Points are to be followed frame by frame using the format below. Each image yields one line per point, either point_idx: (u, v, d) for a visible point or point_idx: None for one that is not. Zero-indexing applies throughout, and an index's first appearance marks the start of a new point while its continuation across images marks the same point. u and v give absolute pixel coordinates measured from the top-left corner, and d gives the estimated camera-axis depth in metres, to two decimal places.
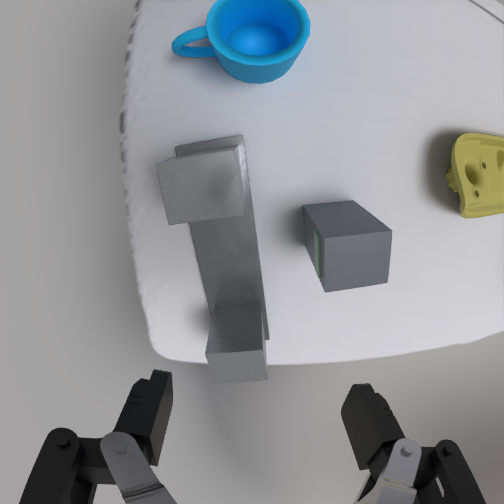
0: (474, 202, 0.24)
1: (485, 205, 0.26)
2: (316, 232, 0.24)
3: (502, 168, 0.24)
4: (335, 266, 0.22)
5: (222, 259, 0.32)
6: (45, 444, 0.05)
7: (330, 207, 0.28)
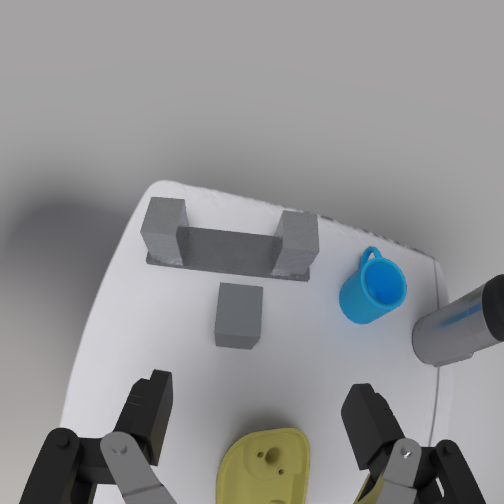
0: (251, 452, 0.27)
1: (238, 478, 0.26)
2: None
3: None
4: (240, 291, 0.32)
5: (228, 246, 0.44)
6: (46, 445, 0.05)
7: None
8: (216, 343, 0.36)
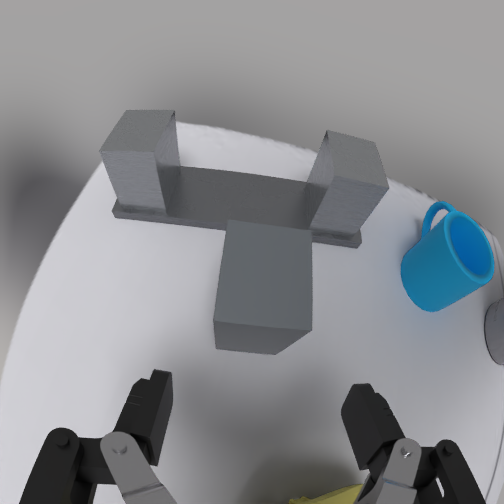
0: None
1: None
2: None
3: None
4: (267, 237, 0.16)
5: (238, 191, 0.28)
6: (46, 444, 0.05)
7: None
8: (216, 344, 0.20)
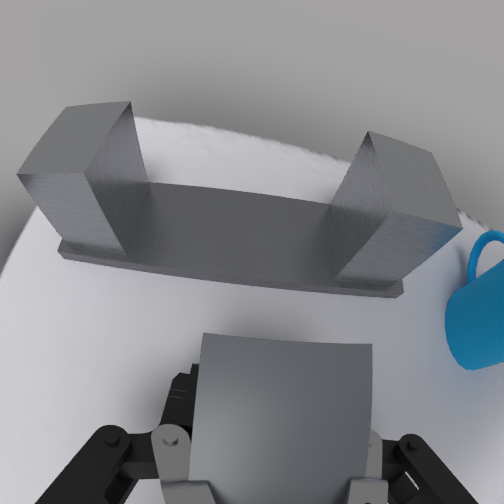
0: None
1: None
2: None
3: None
4: (289, 373, 0.07)
5: (231, 221, 0.20)
6: (92, 439, 0.06)
7: None
8: None
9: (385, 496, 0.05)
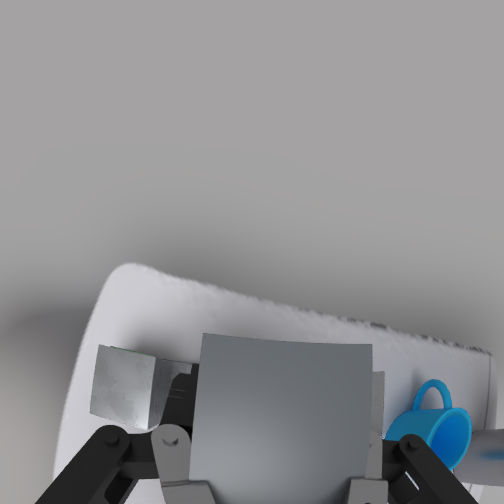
0: None
1: None
2: None
3: None
4: (289, 373, 0.07)
5: None
6: (92, 439, 0.06)
7: None
8: None
9: (385, 496, 0.05)
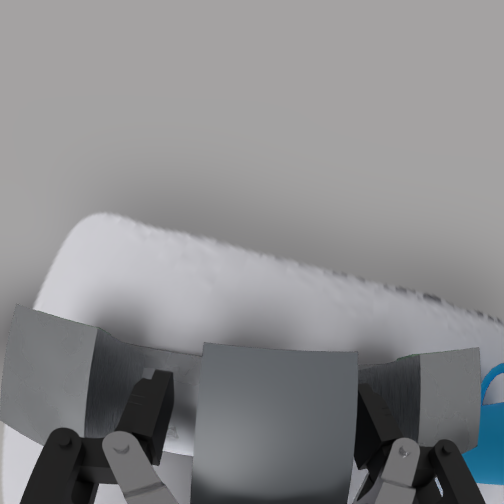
0: None
1: None
2: None
3: None
4: (281, 378, 0.08)
5: None
6: (47, 444, 0.05)
7: None
8: None
9: None
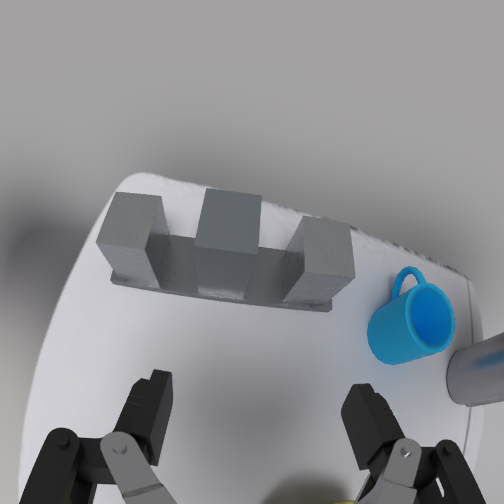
0: None
1: None
2: None
3: None
4: (231, 199, 0.24)
5: None
6: (45, 444, 0.05)
7: None
8: (198, 282, 0.28)
9: None
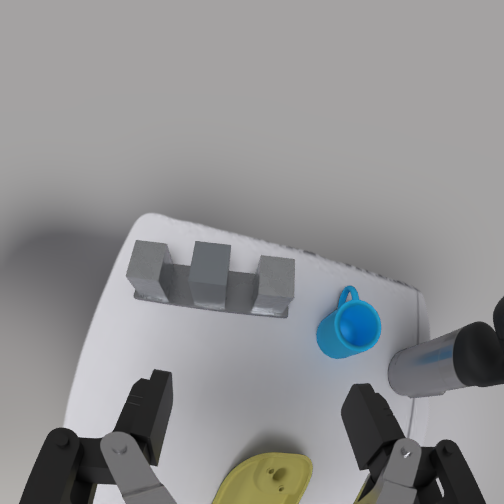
0: (264, 468, 0.29)
1: (243, 486, 0.29)
2: None
3: None
4: (211, 248, 0.38)
5: None
6: (46, 445, 0.05)
7: None
8: (193, 299, 0.42)
9: None
